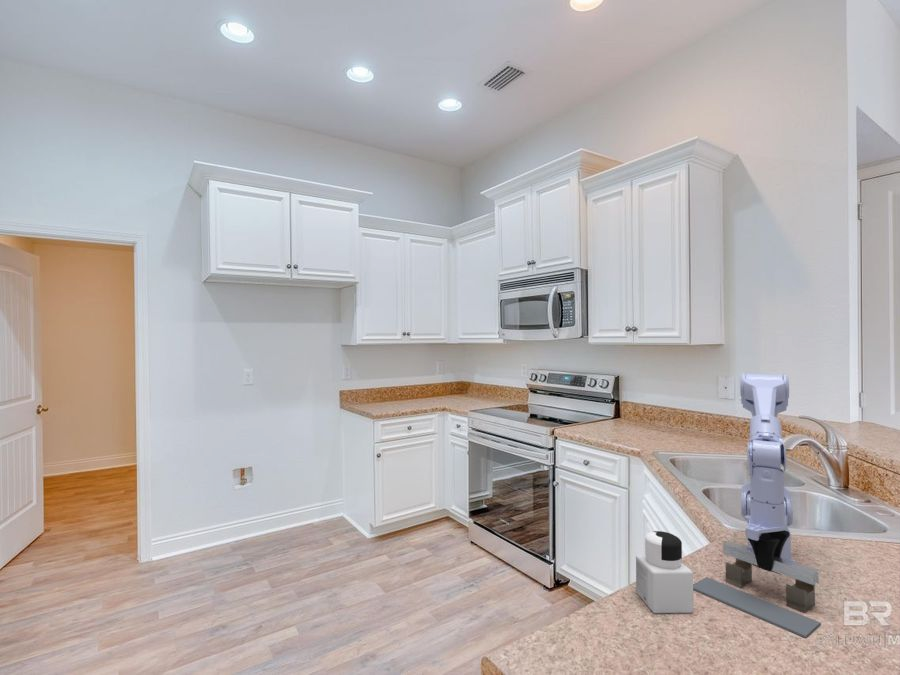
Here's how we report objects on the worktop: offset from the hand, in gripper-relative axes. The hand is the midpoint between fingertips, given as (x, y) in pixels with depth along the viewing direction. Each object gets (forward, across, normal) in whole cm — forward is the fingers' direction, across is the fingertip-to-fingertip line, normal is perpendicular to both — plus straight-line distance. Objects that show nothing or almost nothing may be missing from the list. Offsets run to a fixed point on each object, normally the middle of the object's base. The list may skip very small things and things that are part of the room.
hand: (767, 567), depth 93 cm
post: (+5, 0, +6) cm, 8 cm away
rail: (0, 0, 0) cm, 0 cm away
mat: (+5, +8, 0) cm, 10 cm away
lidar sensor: (+5, +21, -10) cm, 24 cm away
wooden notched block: (+5, 0, -6) cm, 8 cm away
